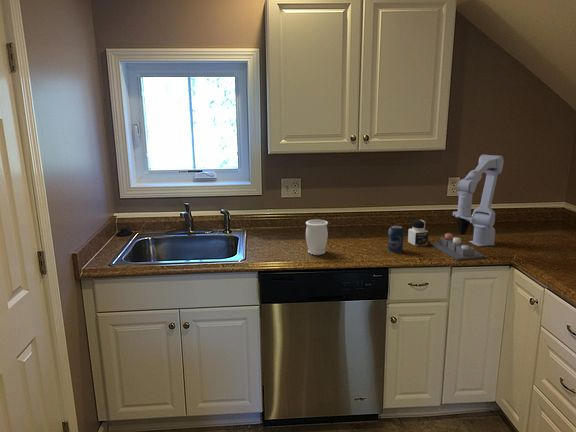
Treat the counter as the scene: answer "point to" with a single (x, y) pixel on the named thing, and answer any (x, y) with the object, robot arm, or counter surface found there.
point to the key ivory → (456, 240)
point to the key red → (448, 236)
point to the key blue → (465, 247)
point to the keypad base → (456, 250)
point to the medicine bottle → (418, 233)
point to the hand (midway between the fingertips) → (462, 234)
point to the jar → (316, 236)
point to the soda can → (395, 239)
